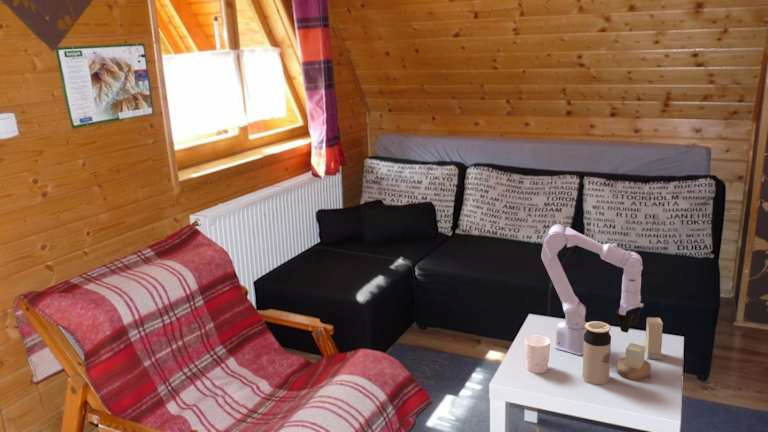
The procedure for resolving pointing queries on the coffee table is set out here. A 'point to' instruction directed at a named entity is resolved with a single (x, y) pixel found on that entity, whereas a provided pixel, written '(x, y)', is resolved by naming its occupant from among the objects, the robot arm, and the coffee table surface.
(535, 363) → the white cup
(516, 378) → the coffee table surface
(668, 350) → the coffee table surface
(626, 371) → the coaster stand
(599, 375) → the travel mug
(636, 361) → the block
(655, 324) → the box
